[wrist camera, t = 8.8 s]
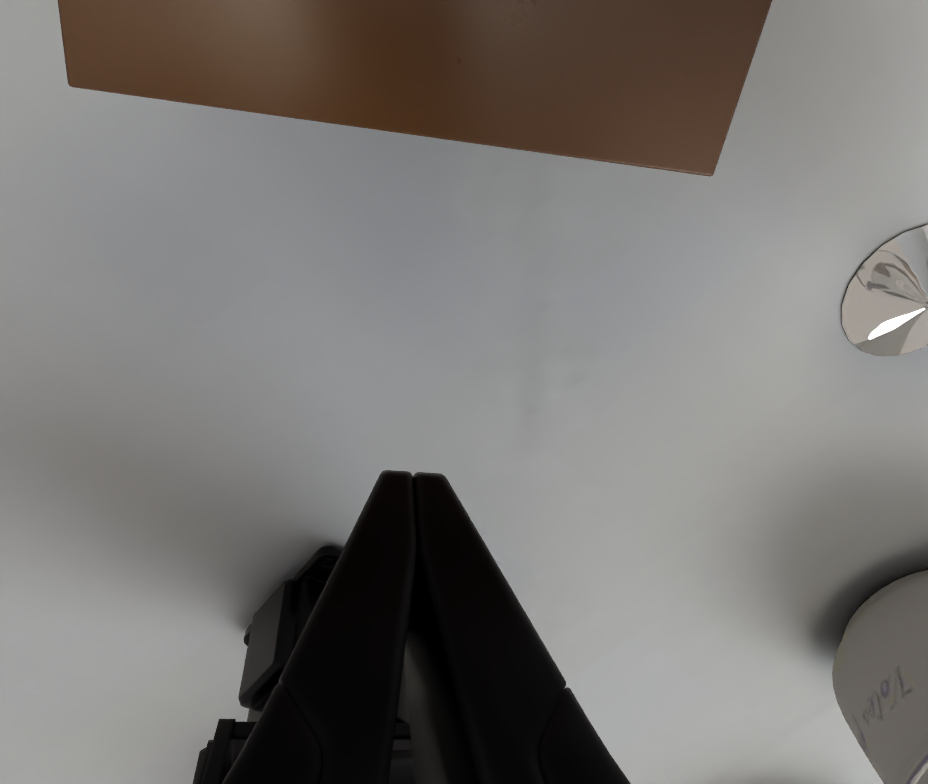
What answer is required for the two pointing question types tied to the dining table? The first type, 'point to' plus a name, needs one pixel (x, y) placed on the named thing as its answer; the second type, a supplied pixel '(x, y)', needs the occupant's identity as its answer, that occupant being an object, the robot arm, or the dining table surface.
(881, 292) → the wineglass
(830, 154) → the dining table surface
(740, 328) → the dining table surface
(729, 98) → the lid
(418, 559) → the robot arm
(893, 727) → the teacup
